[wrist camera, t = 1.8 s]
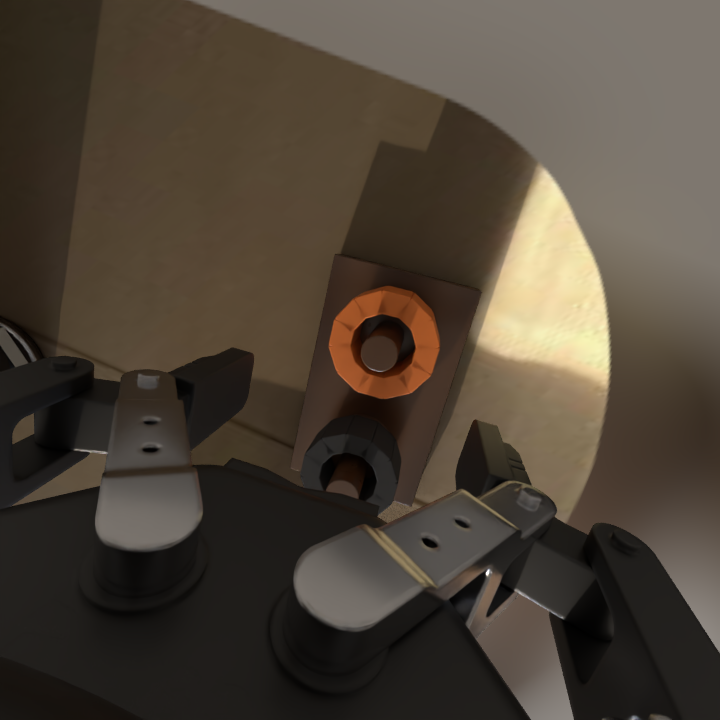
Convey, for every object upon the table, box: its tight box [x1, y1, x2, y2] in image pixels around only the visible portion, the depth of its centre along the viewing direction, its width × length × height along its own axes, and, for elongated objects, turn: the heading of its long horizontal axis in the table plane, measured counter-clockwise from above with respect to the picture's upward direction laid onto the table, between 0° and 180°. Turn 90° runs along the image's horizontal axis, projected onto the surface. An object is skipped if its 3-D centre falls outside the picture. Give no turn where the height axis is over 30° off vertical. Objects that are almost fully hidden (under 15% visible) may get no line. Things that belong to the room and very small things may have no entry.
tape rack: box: [290, 254, 482, 506], centre depth 26 cm, size 10×17×8 cm, turn 167°
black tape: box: [300, 415, 401, 515], centre depth 27 cm, size 6×6×3 cm
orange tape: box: [329, 286, 440, 399], centre depth 24 cm, size 6×6×3 cm
